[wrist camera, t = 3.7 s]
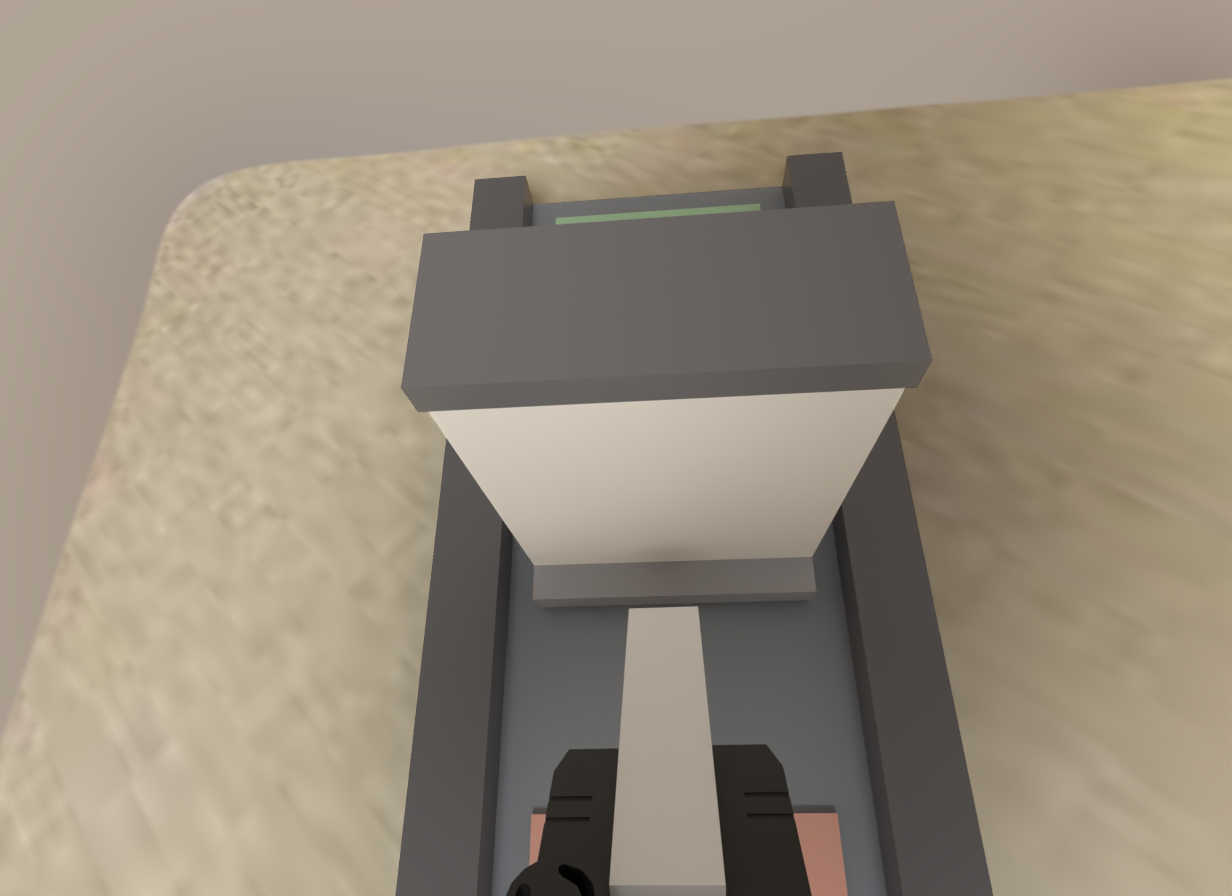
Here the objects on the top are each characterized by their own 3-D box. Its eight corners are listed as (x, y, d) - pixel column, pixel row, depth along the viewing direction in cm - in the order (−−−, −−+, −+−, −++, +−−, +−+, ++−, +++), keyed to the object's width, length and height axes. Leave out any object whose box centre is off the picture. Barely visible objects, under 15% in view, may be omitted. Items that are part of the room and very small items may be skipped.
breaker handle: (814, 600, 20) (944, 413, 10) (535, 607, 21) (393, 438, 11) (794, 445, 23) (884, 162, 12) (542, 456, 23) (429, 196, 13)
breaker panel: (961, 984, 18) (1019, 1026, 15) (432, 976, 19) (382, 1014, 16) (824, 219, 29) (841, 151, 26) (496, 242, 30) (474, 179, 27)
